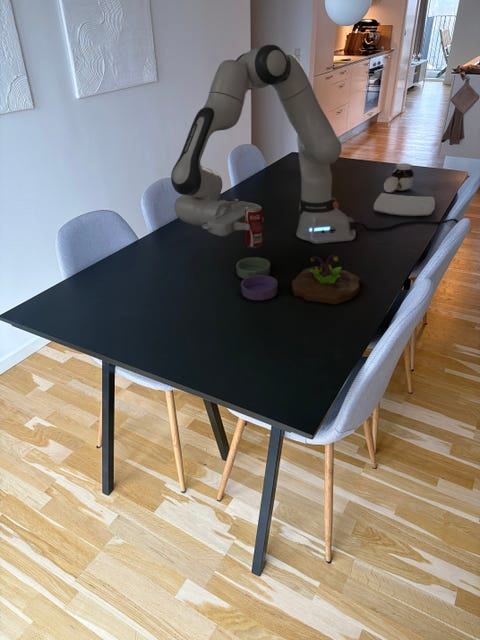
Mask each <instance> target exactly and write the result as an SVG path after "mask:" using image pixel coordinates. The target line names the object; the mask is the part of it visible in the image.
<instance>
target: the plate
mask: <svg viewBox="0 0 480 640" xmlns="http://www.w3.org/2000/svg"><path fill="white" fill-rule="evenodd" d="M374 201H375V202H374V204H373V211H375V212H376V213H382V214H387V215H391V216H398V217H428V216H430V215H432V213H433V212H434V211H435V208H436V202H435V197H434V196H415V195H402V194H392V193H384V192H381V193H380V194H379V195H378V197H377V198H376V200H374Z"/></svg>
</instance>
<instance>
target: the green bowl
mask: <svg viewBox="0 0 480 640" xmlns="http://www.w3.org/2000/svg"><path fill="white" fill-rule="evenodd" d="M235 268H236V275H237V276H238V277H239V278H241V279H242V280H244V279H245V278H247V277H250V276H254V275H266V276H270V273H271V262H270V261H269V260H268V259H266V258H264V257H258V256H251V257H245V258H242V259H240V260H238V261H237V262H236V265H235Z"/></svg>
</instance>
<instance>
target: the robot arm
mask: <svg viewBox="0 0 480 640" xmlns="http://www.w3.org/2000/svg"><path fill="white" fill-rule="evenodd" d="M269 86H272V88H273V89H274V91H275V93H276V95H277V98H278V100H279V102H280V104H281V106H282V108H283V110H284V112H285V114H286V117H287V119H288V122H289V123H290V125H291V126H292V128H293V130H294V131H295V133H296V143H297V150H298V160H299V161H298V162H299V169H300V179H301V180H300V182H301V183H300V198H299V206H298V210H299V211H298V212H299V218H298V219H299V220H298V225H297V228H296V232H295V236H296V237H297V238H298V239H301V240H304V241H308V242H310V243H311V244H317V245H318V244H327V243H328V244H329V243H338V242H350V241H354V240H355V239H356V225H358V226H362V227H363V228H364V229H366V230H368V231H382V230H383V231H384V230H390V229H393V228H396V227H399V226H402V225H407V224H417V223H419V224H421V223H425V224H446V223H450V222H455V223H459V220H458V219H456V218H450V219H446V220H443V221H432V220H409V221H404V222H403V221H402V222H398V223H396V224H393V225H390V226H385V227H377V228H376V227H375V228H373V227H368V226H366V225H365V224H364V223H362V222H357V221H355V220H354V219H353V218H352V217H351V216H347V215H346V213H344V212H343V211H341V210H340V209H338V208H339V206H340V205H339V202H338V201H337V199H336V198H335V197H334V196H333V197H332V191H333V190H332V188H333V174H332V171H331V166H330V165H332V164H334V163H335V162H336V161H338V159H339V158H340V156H341V155H342V148H343V147H342V143H341V140H340V139H339V137H338V136H337V133H336V131H335V130H334V128H333V126H332V124H331V122H330V120H329V119H328V117H327V115H326V114H325V112H324V110H323V109H322V108H323V107H322V106H321V105H320V102H319V100H318V98H317V95H316V93H315V90H314V88H313V85H312V83H311V80H310V78H309V77H308V74H307V73H306V71H305V69H304V67H303V66H302V64H301V62H300V61H299V60H298V58H297V57H296V56H295V55H294V54H293V55H292V54H287V53H286V52H285V50H284V49H283V48H281V46H279V45H275V44H265V45H263V46H258V47H255V48H252V49H250V50H249V51H247V52H245V53H244V52H243V53H242V54H241V55H239V56H238V57H237V58H236V59H226V60H223V61H222V62H221V63H220V64H219V65H218V67H217V69H216V72H215V74H214V76H213V80H212V82H211V84H210V87H209V92H208V96H207V99H206V101H205V104H204V105H203V107H202V108H200V109H199V110H198V112H197V113H196V114H195V117H194V119H193V122H192V123H191V126H190V129H189V132H188V133H187V137H186V140H185V142H184V145H183V147H182V150H181V153H180V155H179V157H178V159H177V161H176V163H175V164H174V166H173V167H172V168H173V169H172V170H171V174H170V182H171V185H172V188H173V189H174V192H176V193H178V194H179V195H180V196H179V197H177V198H176V200H175V202H174V212H175V215H176V217H177V218H178V220H181V222H184V223H186V224H188V225H193V226H197V227H201V229H203V230H207V232H208V233H209V234H213V235H215V236H219V237H226V236H229V235H230V234H232V233H234V232H235V231H245V230H250V229H251V228H252V224H251V223H248V222H246V223H245V210H246V207H247V206H249V205H258V204H256V203H253V202H250V201H249V202H248V201H243V200H241V201H239V199H238V198H230V199H225V200H219V199H220V196H221V194H222V190H223V179H222V177H221V175H220V174H219V173H218V172H217V171H215V170H213V169H211V168H208V167H205V166H203V165H201V161H202V157H203V155H204V152H205V149H206V146H207V144H208V142H209V139H210V137H211V136H212V135H213V134H214V133H215V132H218V131H219V132H220V131H227V130H229V129H231V128H233V127H235V126H236V125H237V123H238V122H239V120H240V118H241V116H242V112H243V108H244V104H245V100H246V95H247V94H248V91H250V90H251V91H252V90H259V89H264V88H266V87H269ZM263 222H264V216H263Z"/></svg>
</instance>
